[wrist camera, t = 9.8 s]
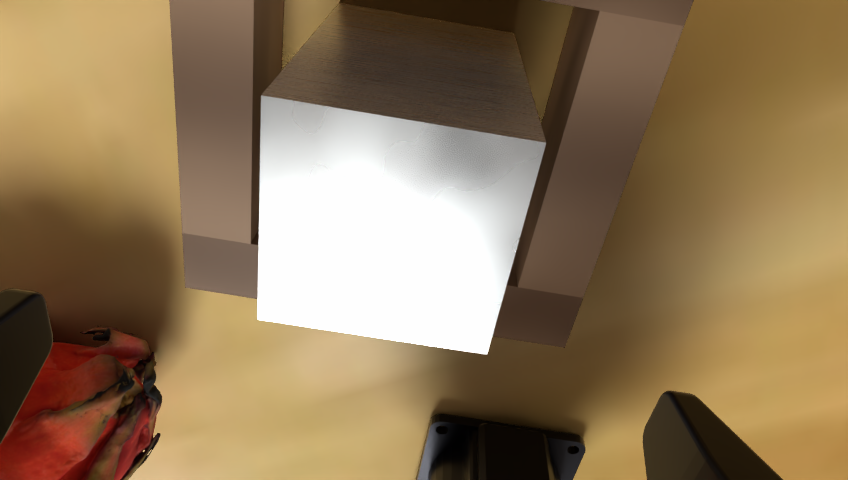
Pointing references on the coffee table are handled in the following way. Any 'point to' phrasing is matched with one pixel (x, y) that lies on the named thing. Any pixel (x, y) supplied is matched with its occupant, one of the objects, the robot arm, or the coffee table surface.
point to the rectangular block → (395, 179)
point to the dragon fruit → (86, 413)
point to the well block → (555, 184)
